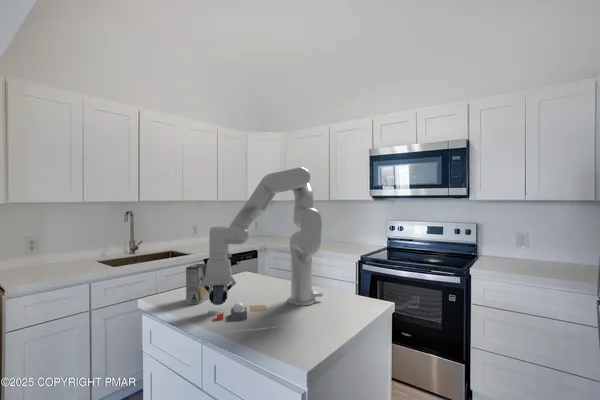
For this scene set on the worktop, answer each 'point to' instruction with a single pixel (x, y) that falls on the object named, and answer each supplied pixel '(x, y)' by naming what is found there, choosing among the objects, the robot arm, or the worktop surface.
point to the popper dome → (238, 307)
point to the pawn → (218, 294)
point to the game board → (236, 315)
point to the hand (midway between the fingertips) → (218, 301)
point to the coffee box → (196, 284)
